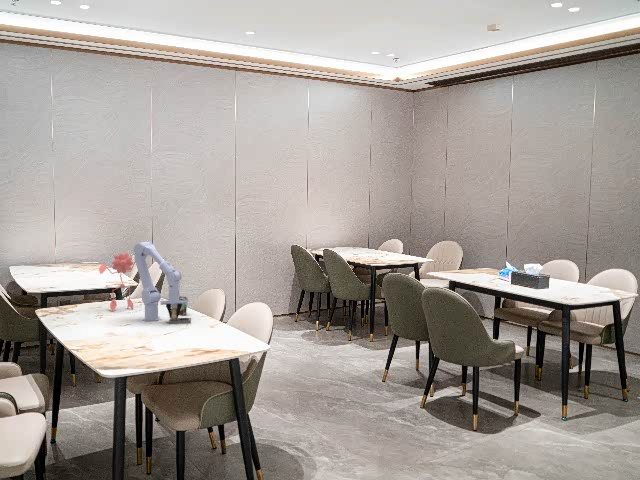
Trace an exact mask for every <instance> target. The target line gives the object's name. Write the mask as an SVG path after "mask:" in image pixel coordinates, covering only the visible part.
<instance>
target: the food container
mask: <svg viewBox="0 0 640 480" xmlns="http://www.w3.org/2000/svg"><path fill="white" fill-rule="evenodd" d="M179 300H184V301H188V302H189V298H188V297H187V296H181V295H179ZM177 305H178V304H176V305H171V309H172V308H177ZM187 307H188V304H187V305H185V304H182V307H181V309H180V311H179V316H182V317H184V316H187V309H188V308H187Z"/></svg>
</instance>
